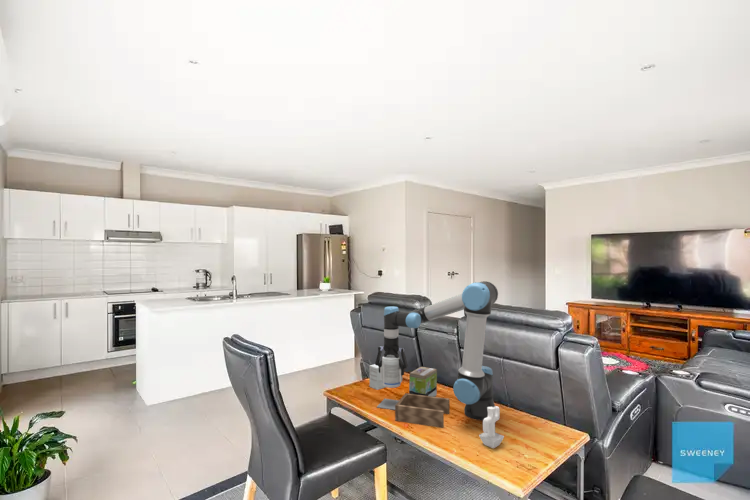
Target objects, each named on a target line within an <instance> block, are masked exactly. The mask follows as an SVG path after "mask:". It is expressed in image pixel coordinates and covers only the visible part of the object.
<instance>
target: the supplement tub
mask: <svg viewBox="0 0 750 500" xmlns="http://www.w3.org/2000/svg"><path fill="white" fill-rule="evenodd" d="M399 359H401V355H399V358H395V356H393V355H387V356H386V357H383V356H382V358H381V360H382V385H383V386H384V387H385V388H388V389H393V388H394V389H396V388H398V387H400V386H401V383H402V382H399V369H400V366H399Z"/></svg>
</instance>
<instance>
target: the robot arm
mask: <svg viewBox="0 0 750 500" xmlns="http://www.w3.org/2000/svg"><path fill="white" fill-rule="evenodd" d="M498 296H499V292H498V289H497V286H496V285H494V283H492V282H490V281H479V282H476V281H475V282H472V283H469V285H466V286H465V287H464V289H463V291H462V293H461V294H458V295H455V296H452V297H449V298H447V299H445V300H441V301H437V302H435V303H433V304H430V305H428V306H424V307H422V308H418V309H415V310H411V311H400V309H399V307H398V306H394V305H393V306H385V307H384V312H383V324H384V326H383V336H384V337H383V346H382V345H380V346H378V347H377V350H378V352H377V356H376V359H375V363H374V364H375V365H377V366H379V373H380V380H382V359H381V356H382V353H383V351H384V354H383V356H382V357H386V356H387V355H393V356H395V358H399V356H400V357H401V358H400V359H399V366H400V369H399V382H401V383H402V382H403V376H404V375H405V370H406V369H407V368H408V367H409V366H408V365H409V364H408V361H407V357H406V353H405V352H406V350H405V347H403V348H402V347H400V346H399V334H400V333H399V327H403V328H409V329H418V328H419V327H420V326H421V324H425V323H427V322H430V321H433V320H436V319H439V318H443V317H445V316H446V317H447V316H448V315H452V314H454V313H457V312H458V313H459V312H461V311H464V313H465V314H466V321H465V322H466V323H465V335H464V344H463V352H462V353H463V354H462V355H463V356H462V364H461V367H460V368H458V370H457V379H456V380H455V381H454V384H453V389H452V390H453V393H454V396H455V397H456V399H457V400H458V401H460V403H462V404H464V410H463V411H464V412H463V413H464V415H465V416H466V417H467V418H469V419H471V420H475V421H482V422H483V419H484V418H486V417H487V416H488V411H487V407H495V406H496V404H495V402H494V389H493V388H494V385H493V384H494V377H493V376H494V374H493V372H494V371H493V368H491V367H490V366H486V365H483V361H484V360H483V358H484V349H485V340H486V339H485V338H486V328H487V318H488V317H489V316H490V315H491V313H492V306H493V304H495V303H496V301H497V300H498V298H499V297H498ZM399 352H400V355H399Z"/></svg>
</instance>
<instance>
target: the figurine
mask: <svg viewBox="0 0 750 500" xmlns="http://www.w3.org/2000/svg"><path fill="white" fill-rule="evenodd" d="M487 411H488V416H487V417H486V418H484V419H483V421H482V431H483V432H482V433H479V434H478V437H479V438H480V440H481V441H482V444H483V445H484V446H487V447H489V448H491V449H495V448H497V447H498V446H500V445H501V443H502V442H503V440H504V437H505V436H504V435H502V434H501V433H497V432H496V422H497V421H499V420H500V414H501V413H500V411H501V410H500V407H499V406H497V405H495V407H487Z"/></svg>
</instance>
